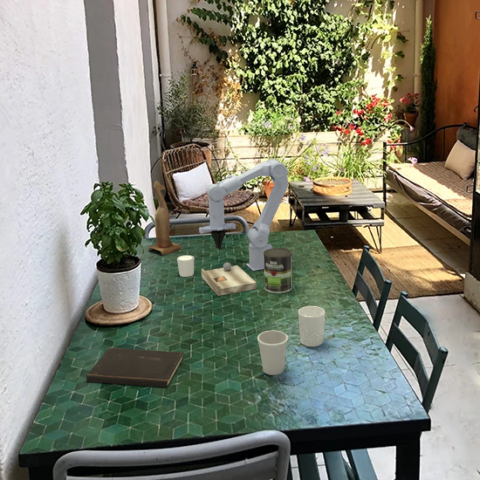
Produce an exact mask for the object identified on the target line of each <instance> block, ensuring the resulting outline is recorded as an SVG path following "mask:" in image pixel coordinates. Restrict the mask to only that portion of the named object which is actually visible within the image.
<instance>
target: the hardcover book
mask: <svg viewBox="0 0 480 480" xmlns="http://www.w3.org/2000/svg"><path fill="white" fill-rule="evenodd" d="M183 355H184V352H182V351H165V350H151V349H134V348H132V349H131V348H118V347H108V349H107V350H106V351H105V352H104V354H103V355H102V356H101V357H100V359H98V360H97V362H96V363H95V364H94V365H93V367H92V368H91V370H90V371H89V372H88V373H87V374H86V382H88V383H98V384H100V383H101V384H112V385H126V386H127V385H128V386H141V387H142V386H143V387H153V388H154V387H156V388H168V386H169V384H170V382H171V380H172V379H173V376H174V374H175V373H176V371H177V369H178V367H179V366H180V364H181V362H182V360H183Z"/></svg>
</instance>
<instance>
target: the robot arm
mask: <svg viewBox="0 0 480 480" xmlns="http://www.w3.org/2000/svg"><path fill="white" fill-rule="evenodd" d="M288 174H289V170H288V168H287V166H286V165H285V164H284V163H283V162H280V161H279V160H278V159H275V158H270V159H268V160H266V161H262V162H260V163H259V164H258V165H255V166H254V167H252V168H250V169H249V170H247V171H245V172H243V173H241V174H240V175H235V174H233V175H231V174H230V175H227V177H226V178H225V179H223V180H221V181H219V180H218V181H216V183H213V184H210V185H209V186H208V188H207V190H206V194H207V196H208V202H209V203H208V211H209V213H208V214H209V225H206V226H201V227H199V228H198V232H199V234H201V235H202V234H204V233H210V235H211V237H212V238H213V241H214V244H215V248H216V249H218V250H220V249H222V245H223V241H224V238H225V236H226V233H227V232H226V230H235V229H236V228H237V227H236V225H237V224H236V223H235V222H230V223H229V222H227V223H225V206H224V205H225V204H224V198H225V197H226V196H227V195H230V194H232V193H233V192H236V191H238V190H239V189H241V188H242V186H243V184H244V183H246V182H249V181H251V180H253V179H256V178H259V177H261V176H262V177H263V176H264V177H268V178H269V177H270V179H271V181H272V183H273V187H272V189H271V191H270V193H269V195H268V197H267V200H266V202H265V204H264V207H263V208H262V211H261V213H260V215H259V218H258V219H257V221H256V222H254V224H253V225H252V227H251V228H250V229H248V231H247V235H246V236H247V238H248V240H249V244H248V257H249V260H248V261H249V263H245V266H246V267H248V268H249V269H250V270H251V271H254V272H255V271H259V270H260V271H261V270H264V254H263V253H264V251H265V250H268V249H271V248H273V246H272V245H271V244H270V243H269V235H270V233H271V232H270V227H271V224H272V222H273V220H274V218H275V215H276V213H277V211H278V209H279V207H280V205H281V203H282V200H283V198H284V196H285V194H286V192H287V190H288V187H289V179H288V178H289V177H288Z"/></svg>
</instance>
